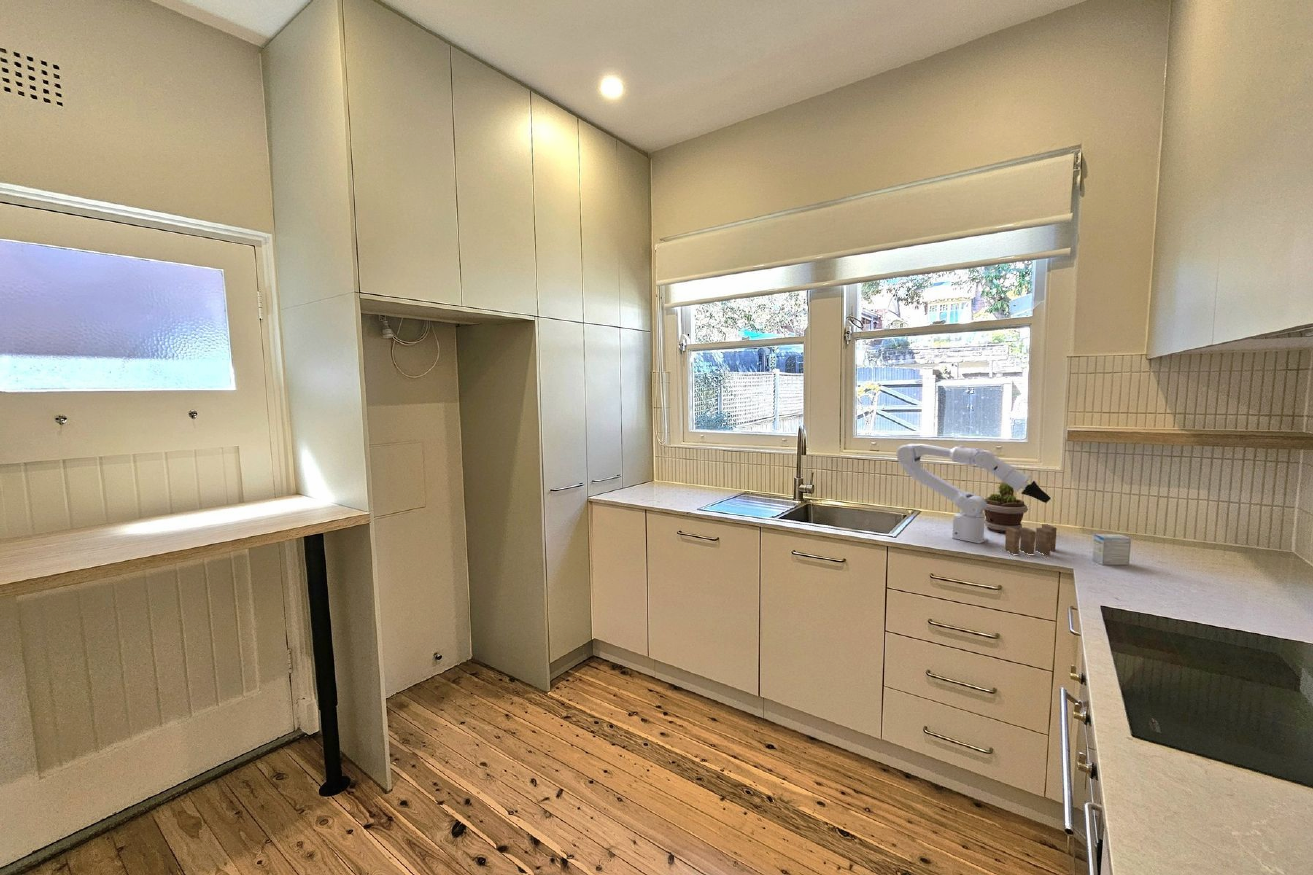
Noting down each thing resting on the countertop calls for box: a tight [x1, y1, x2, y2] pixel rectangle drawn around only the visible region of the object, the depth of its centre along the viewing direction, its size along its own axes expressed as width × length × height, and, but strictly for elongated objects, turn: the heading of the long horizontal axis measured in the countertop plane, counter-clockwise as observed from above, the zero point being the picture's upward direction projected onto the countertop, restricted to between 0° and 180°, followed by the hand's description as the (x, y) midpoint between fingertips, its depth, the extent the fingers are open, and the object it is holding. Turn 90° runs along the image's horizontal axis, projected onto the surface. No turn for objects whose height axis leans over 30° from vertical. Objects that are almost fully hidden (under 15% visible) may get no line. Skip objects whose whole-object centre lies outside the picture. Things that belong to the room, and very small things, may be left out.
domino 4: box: [1041, 523, 1057, 552], centre depth 180 cm, size 2×5×8 cm, turn 175°
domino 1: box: [1004, 527, 1021, 555], centre depth 177 cm, size 2×5×8 cm, turn 175°
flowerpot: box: [983, 480, 1029, 534], centre depth 203 cm, size 14×15×20 cm
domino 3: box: [1034, 527, 1051, 556], centre depth 176 cm, size 2×5×8 cm, turn 175°
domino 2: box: [1019, 527, 1036, 555], centre depth 176 cm, size 2×5×8 cm, turn 175°
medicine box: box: [1092, 533, 1132, 566], centre depth 166 cm, size 8×4×9 cm, turn 84°
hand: (1048, 500), depth 176 cm, fingers open, 7 cm apart
